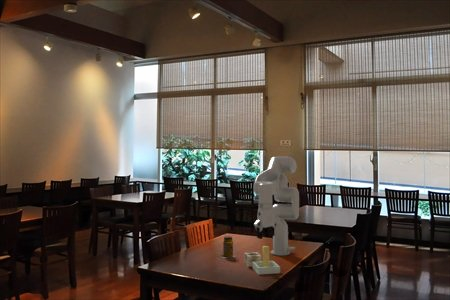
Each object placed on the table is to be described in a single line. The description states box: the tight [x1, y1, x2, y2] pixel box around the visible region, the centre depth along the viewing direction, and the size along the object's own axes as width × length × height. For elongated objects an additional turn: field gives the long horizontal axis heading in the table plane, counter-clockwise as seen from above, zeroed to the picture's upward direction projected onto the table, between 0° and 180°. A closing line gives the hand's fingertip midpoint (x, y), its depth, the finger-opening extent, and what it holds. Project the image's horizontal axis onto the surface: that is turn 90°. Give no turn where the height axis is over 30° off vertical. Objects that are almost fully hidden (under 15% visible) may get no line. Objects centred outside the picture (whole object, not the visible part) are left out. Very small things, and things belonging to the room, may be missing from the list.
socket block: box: [243, 251, 262, 268], centre depth 228 cm, size 8×8×6 cm
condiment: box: [218, 236, 236, 259], centre depth 247 cm, size 7×8×12 cm
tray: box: [252, 260, 281, 276], centre depth 216 cm, size 12×12×4 cm
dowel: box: [262, 245, 270, 267], centre depth 216 cm, size 4×4×12 cm
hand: (266, 236), depth 217 cm, fingers open, 9 cm apart
